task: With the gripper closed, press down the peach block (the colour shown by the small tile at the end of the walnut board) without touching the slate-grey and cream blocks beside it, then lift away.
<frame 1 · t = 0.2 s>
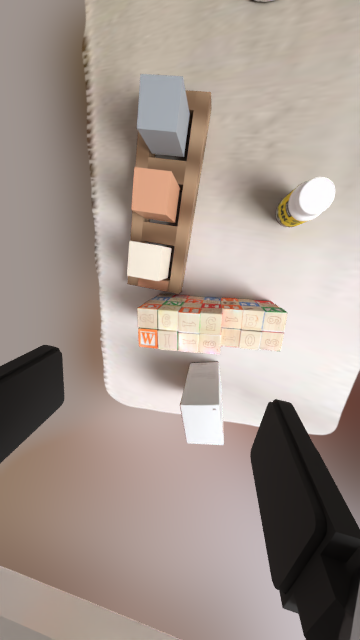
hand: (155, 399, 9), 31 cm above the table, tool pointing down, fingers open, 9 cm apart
peach block: (157, 198, 28), point 6 cm above the table, slide at 0.0 cm
button slate: (165, 120, 26), point 6 cm above the table, slide at 0.0 cm
supplement bottle: (290, 211, 31), on the table
small box: (206, 377, 43), on the table
button board: (166, 208, 34), on the table
button cream: (150, 261, 31), point 6 cm above the table, slide at 0.0 cm
stack of blocks: (211, 311, 39), on the table
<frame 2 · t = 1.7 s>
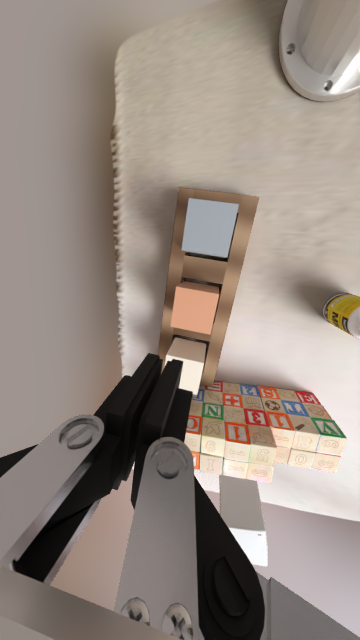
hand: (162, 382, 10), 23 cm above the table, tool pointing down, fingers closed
peach block: (196, 305, 26), point 6 cm above the table, slide at 0.0 cm
button slate: (209, 232, 23), point 6 cm above the table, slide at 0.0 cm
supplement bottle: (339, 309, 28), on the table
small box: (235, 458, 40), on the table
button board: (199, 297, 31), on the table
button cream: (185, 363, 29), point 6 cm above the table, slide at 0.0 cm
stack of blocks: (246, 397, 36), on the table
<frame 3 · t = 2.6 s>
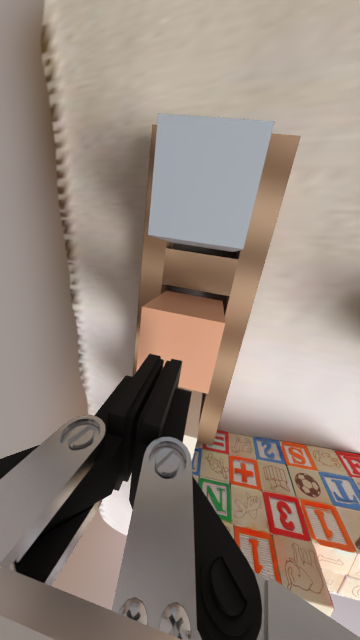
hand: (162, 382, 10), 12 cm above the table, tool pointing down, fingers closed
peach block: (184, 334, 15), point 6 cm above the table, slide at 0.0 cm
button slate: (206, 202, 12), point 6 cm above the table, slide at 0.0 cm
button board: (193, 313, 21), on the table
button cream: (169, 422, 18), point 6 cm above the table, slide at 0.0 cm
stack of blocks: (261, 453, 25), on the table
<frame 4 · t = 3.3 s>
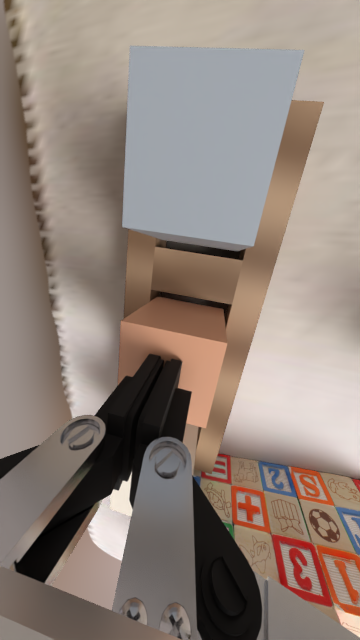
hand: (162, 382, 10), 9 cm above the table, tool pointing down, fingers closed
peach block: (177, 350, 12), point 6 cm above the table, slide at -0.3 cm, touching gripper
button slate: (203, 185, 9), point 6 cm above the table, slide at 0.0 cm
button board: (189, 322, 18), on the table
button cream: (160, 453, 15), point 6 cm above the table, slide at 0.0 cm
stack of blocks: (267, 479, 22), on the table
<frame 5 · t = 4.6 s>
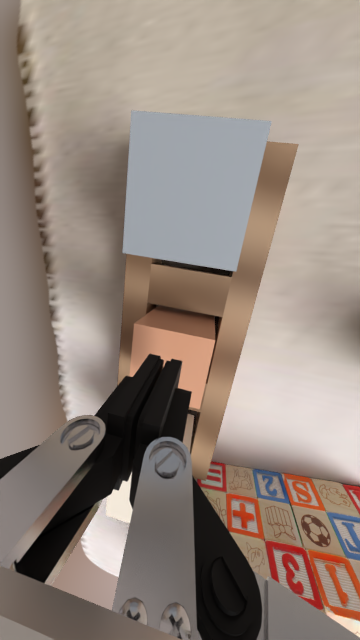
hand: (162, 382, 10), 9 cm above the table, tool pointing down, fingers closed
peach block: (176, 348, 15), point 4 cm above the table, slide at -2.2 cm
button slate: (194, 215, 10), point 6 cm above the table, slide at 0.0 cm
button board: (183, 332, 19), on the table
button cream: (155, 459, 16), point 6 cm above the table, slide at 0.0 cm
stack of blocks: (262, 486, 23), on the table
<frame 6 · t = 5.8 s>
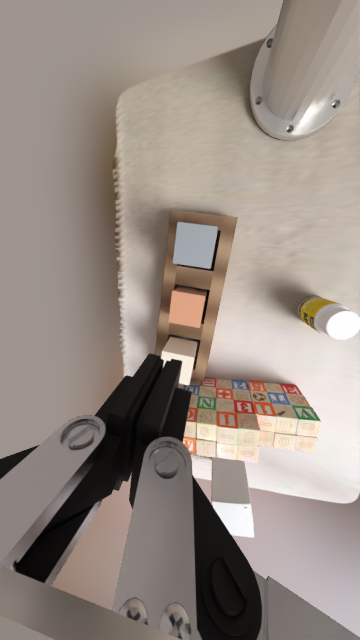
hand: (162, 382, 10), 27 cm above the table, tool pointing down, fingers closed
peach block: (188, 305, 32), point 4 cm above the table, slide at -2.2 cm
button slate: (196, 247, 27), point 6 cm above the table, slide at 0.0 cm
supplement bottle: (311, 309, 33), on the table
small box: (227, 447, 44), on the table
button board: (191, 301, 36), on the table
button cream: (179, 359, 33), point 6 cm above the table, slide at 0.0 cm
stack of blocks: (237, 392, 40), on the table
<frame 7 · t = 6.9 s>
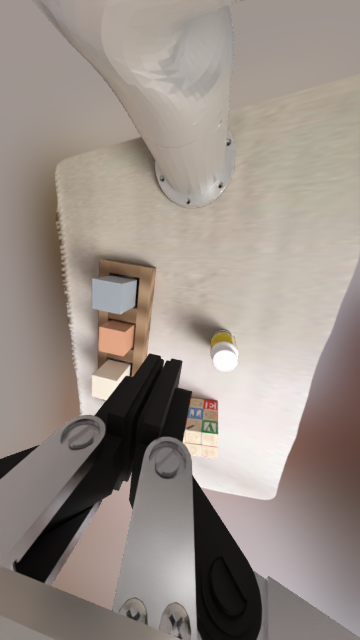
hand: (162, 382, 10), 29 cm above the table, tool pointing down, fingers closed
peach block: (119, 335, 39), point 4 cm above the table, slide at -2.2 cm
button slate: (115, 293, 34), point 6 cm above the table, slide at 0.0 cm
supplement bottle: (222, 340, 39), on the table
button board: (127, 329, 42), on the table
button cream: (111, 379, 39), point 6 cm above the table, slide at 0.0 cm
stack of blocks: (172, 405, 47), on the table
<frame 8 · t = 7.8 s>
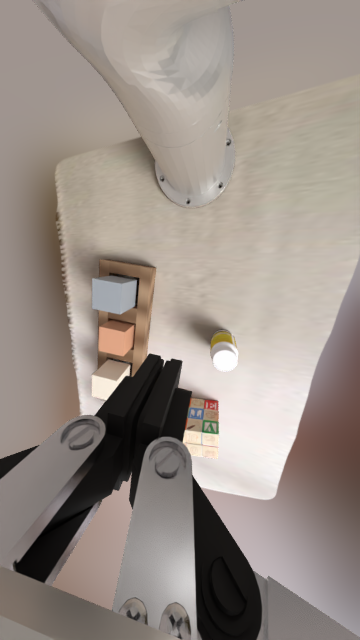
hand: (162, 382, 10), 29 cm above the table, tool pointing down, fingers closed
peach block: (119, 335, 39), point 4 cm above the table, slide at -2.2 cm
button slate: (115, 293, 34), point 6 cm above the table, slide at 0.0 cm
supplement bottle: (222, 340, 39), on the table
button board: (127, 329, 42), on the table
button cream: (111, 379, 39), point 6 cm above the table, slide at 0.0 cm
stack of blocks: (173, 405, 47), on the table
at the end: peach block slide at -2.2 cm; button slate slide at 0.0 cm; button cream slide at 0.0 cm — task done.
